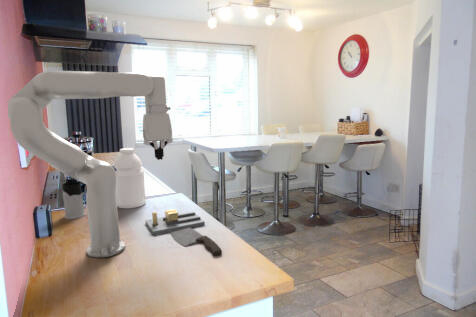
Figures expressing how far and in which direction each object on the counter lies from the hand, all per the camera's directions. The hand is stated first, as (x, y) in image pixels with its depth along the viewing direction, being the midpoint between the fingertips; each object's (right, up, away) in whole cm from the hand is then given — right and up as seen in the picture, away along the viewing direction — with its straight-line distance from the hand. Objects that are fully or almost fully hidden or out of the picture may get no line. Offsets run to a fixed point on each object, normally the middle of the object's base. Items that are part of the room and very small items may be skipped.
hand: (159, 159), depth 132 cm
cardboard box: (+2, -25, +12) cm, 28 cm away
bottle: (-23, -23, +42) cm, 53 cm away
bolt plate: (+3, -27, +13) cm, 30 cm away
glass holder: (-43, -26, +29) cm, 58 cm away
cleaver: (+14, -31, -5) cm, 34 cm away
